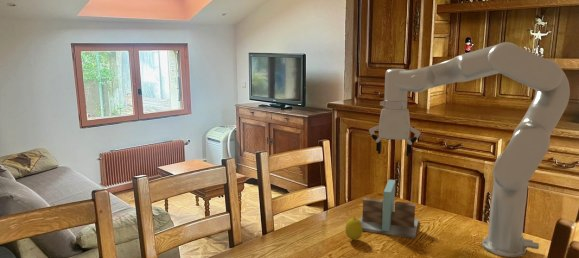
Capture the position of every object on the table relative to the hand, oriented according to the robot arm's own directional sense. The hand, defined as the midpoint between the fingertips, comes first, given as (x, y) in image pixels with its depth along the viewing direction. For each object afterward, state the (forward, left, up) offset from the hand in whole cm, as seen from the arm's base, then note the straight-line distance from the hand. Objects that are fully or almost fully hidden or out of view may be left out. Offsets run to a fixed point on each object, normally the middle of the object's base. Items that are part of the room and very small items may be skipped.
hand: (393, 154), depth 150 cm
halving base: (+1, 0, -26) cm, 26 cm away
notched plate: (+1, 0, -25) cm, 25 cm away
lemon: (+10, +16, -27) cm, 33 cm away
